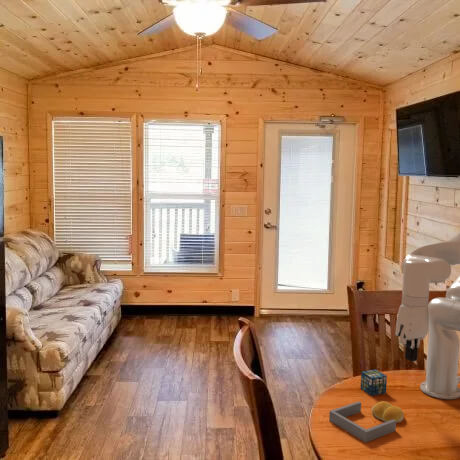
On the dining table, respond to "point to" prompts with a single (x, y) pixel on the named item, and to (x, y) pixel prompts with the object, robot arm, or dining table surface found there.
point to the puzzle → (373, 382)
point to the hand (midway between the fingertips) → (410, 359)
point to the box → (365, 435)
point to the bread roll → (387, 412)
